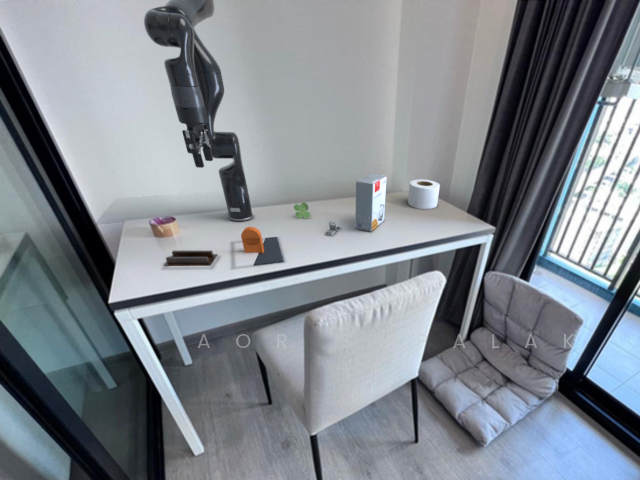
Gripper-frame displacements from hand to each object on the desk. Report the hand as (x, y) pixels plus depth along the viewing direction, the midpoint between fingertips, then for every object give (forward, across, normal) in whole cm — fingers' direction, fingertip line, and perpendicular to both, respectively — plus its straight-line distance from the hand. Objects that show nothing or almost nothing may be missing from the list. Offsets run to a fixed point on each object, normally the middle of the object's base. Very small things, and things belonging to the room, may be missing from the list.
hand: (204, 163), depth 102 cm
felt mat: (+28, +6, +12) cm, 31 cm away
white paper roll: (+28, -49, +84) cm, 102 cm away
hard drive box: (+28, -21, +54) cm, 65 cm away
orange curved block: (+28, +7, +12) cm, 31 cm away
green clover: (+28, -30, +25) cm, 48 cm away
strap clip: (+28, -13, +38) cm, 49 cm away
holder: (+28, +13, -7) cm, 32 cm away
